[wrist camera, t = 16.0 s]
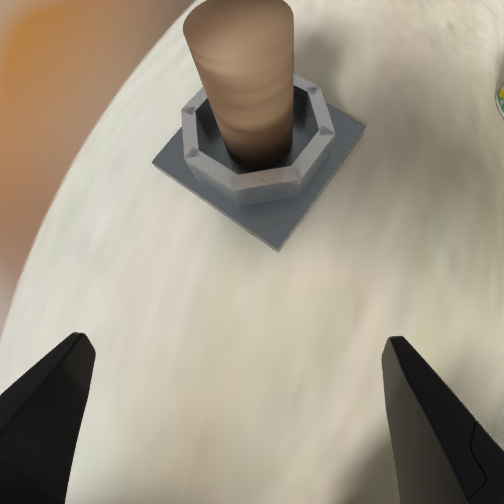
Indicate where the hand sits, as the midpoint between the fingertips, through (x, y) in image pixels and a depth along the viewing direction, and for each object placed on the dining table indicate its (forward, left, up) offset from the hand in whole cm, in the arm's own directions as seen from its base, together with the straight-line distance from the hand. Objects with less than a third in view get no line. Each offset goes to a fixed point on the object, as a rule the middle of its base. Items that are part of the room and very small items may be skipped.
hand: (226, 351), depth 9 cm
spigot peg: (+8, -11, -13) cm, 18 cm away
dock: (+8, -11, -14) cm, 19 cm away
